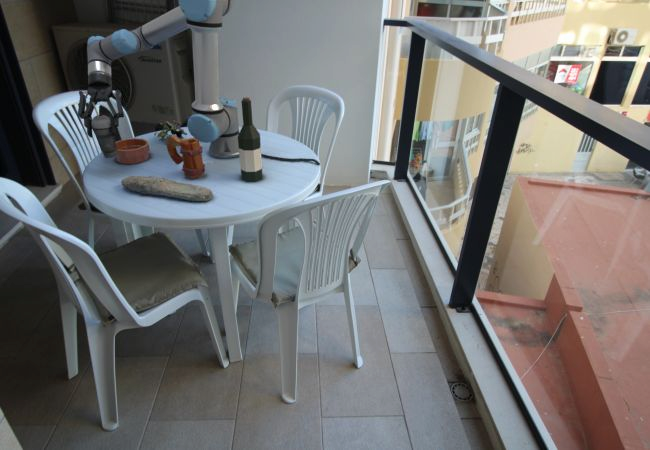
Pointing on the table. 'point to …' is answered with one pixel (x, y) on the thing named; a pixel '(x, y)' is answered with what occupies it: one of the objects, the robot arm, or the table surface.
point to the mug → (187, 155)
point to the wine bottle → (249, 146)
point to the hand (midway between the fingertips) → (101, 134)
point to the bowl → (132, 151)
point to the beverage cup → (104, 135)
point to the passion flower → (172, 128)
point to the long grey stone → (166, 188)
